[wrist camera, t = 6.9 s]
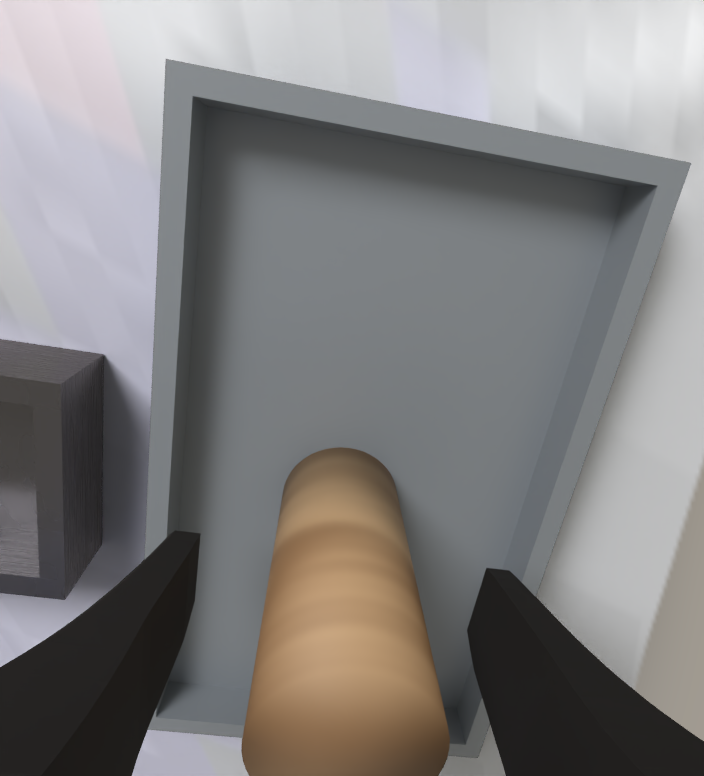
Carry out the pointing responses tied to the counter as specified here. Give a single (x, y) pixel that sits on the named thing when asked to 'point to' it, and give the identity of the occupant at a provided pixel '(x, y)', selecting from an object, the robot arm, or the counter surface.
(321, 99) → the slate tray
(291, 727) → the oak dowel
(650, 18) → the counter surface
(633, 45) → the counter surface
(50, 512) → the pin holder
